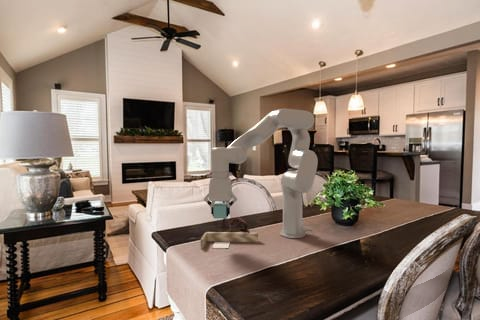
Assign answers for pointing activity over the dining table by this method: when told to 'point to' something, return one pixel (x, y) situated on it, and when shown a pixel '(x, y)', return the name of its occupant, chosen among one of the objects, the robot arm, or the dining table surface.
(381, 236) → the dining table surface
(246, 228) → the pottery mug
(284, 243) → the dining table surface
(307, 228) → the robot arm
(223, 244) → the pad
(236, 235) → the wooden l-shaped bar
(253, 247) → the dining table surface
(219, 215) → the cube
